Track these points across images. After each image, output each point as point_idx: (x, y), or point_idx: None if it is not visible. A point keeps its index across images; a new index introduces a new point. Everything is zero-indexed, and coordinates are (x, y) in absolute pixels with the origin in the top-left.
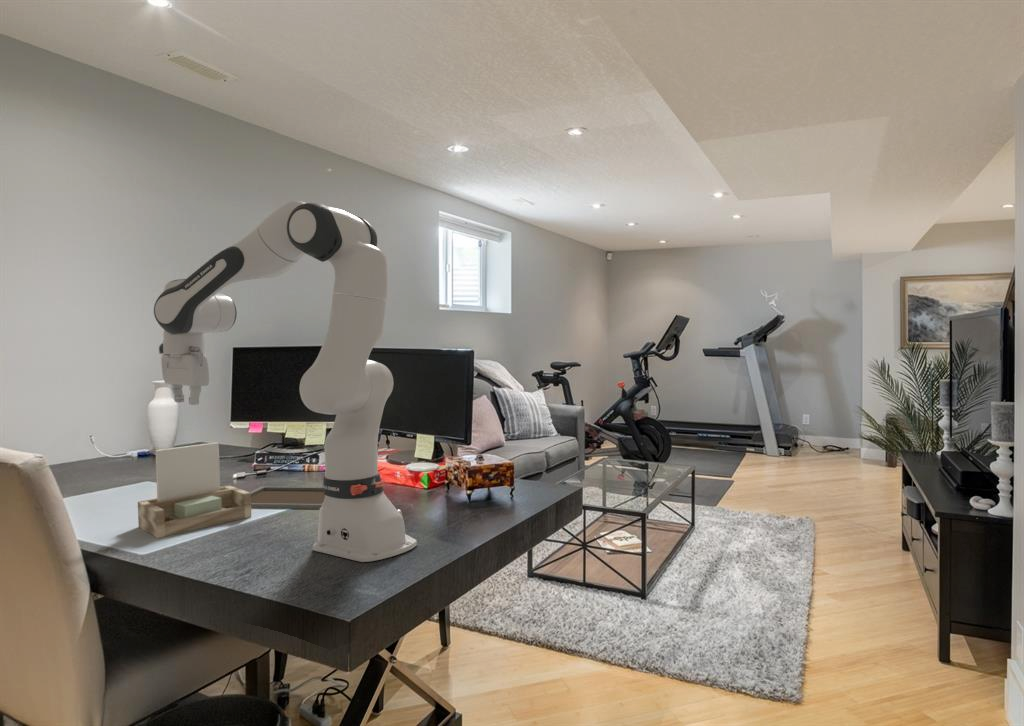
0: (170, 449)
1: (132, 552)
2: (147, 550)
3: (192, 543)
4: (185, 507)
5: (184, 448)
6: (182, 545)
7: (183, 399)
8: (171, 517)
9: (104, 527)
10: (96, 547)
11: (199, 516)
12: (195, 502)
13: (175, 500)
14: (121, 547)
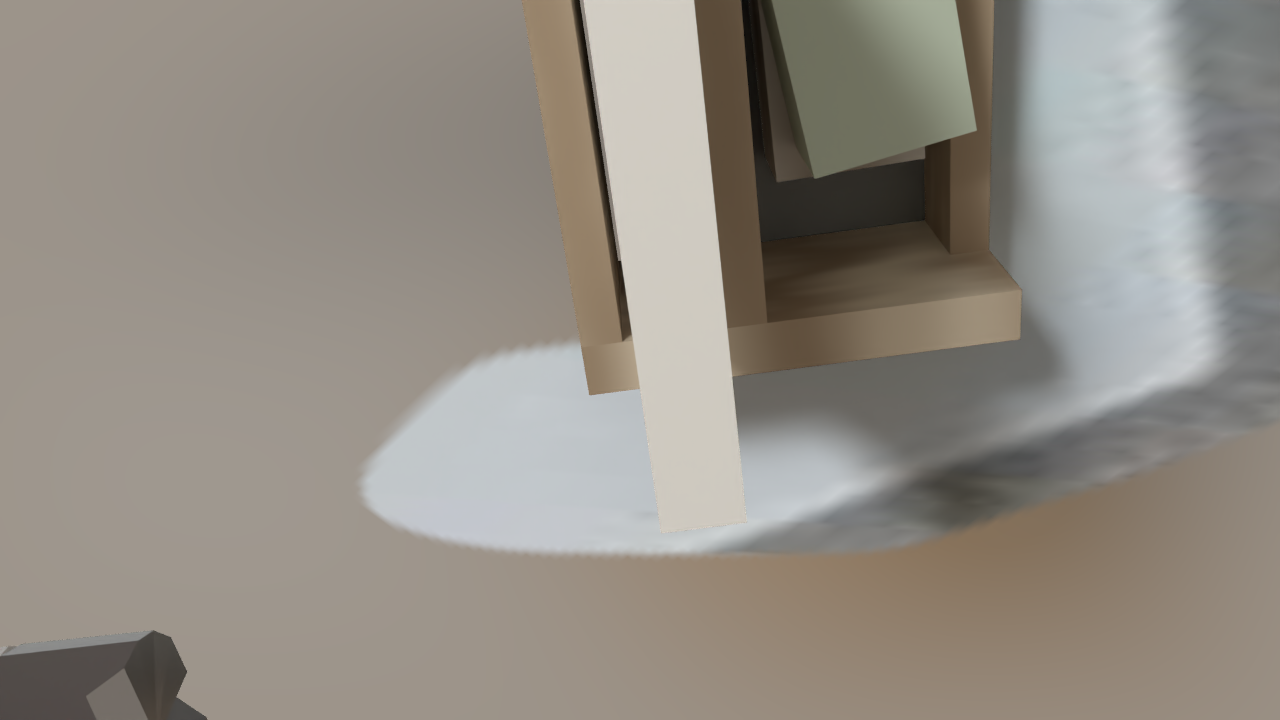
0: (730, 392)
1: (1127, 403)
2: (1163, 340)
3: (1268, 111)
4: (971, 121)
5: (713, 220)
6: (1251, 169)
7: (137, 686)
8: (807, 170)
9: (445, 462)
10: (868, 526)
11: (991, 3)
12: (910, 26)
13: (752, 160)
14: (979, 435)
